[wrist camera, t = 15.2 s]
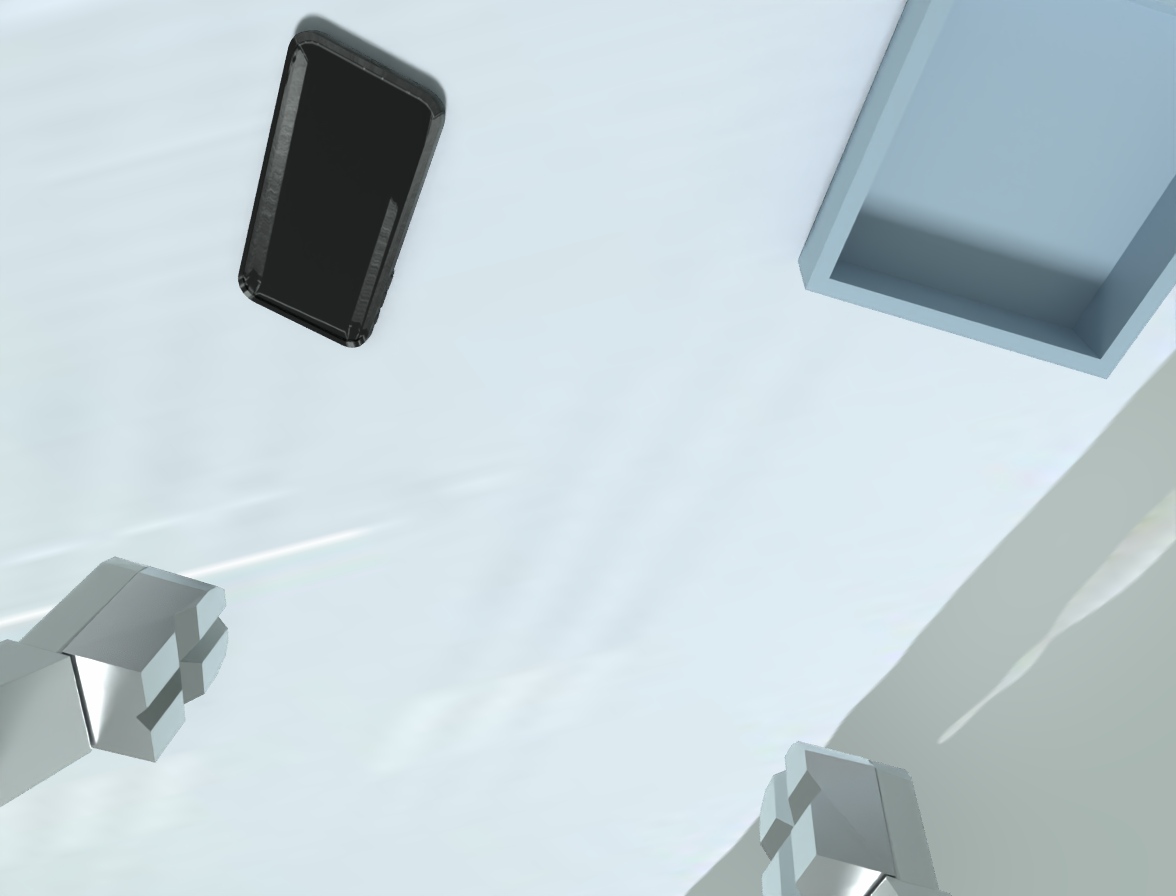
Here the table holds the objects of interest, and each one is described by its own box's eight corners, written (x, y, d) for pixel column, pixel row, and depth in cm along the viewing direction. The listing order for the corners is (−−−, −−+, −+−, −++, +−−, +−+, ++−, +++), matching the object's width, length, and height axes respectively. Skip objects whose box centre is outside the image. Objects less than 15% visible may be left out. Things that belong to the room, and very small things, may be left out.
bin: (797, 261, 39) (805, 289, 35) (941, -80, 31) (968, -85, 27) (1073, 343, 39) (1106, 379, 35) (1287, 25, 31) (1356, 33, 27)
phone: (234, 292, 43) (293, 21, 35) (244, 285, 44) (304, 20, 36) (363, 355, 44) (448, 105, 36) (370, 347, 45) (455, 102, 37)
